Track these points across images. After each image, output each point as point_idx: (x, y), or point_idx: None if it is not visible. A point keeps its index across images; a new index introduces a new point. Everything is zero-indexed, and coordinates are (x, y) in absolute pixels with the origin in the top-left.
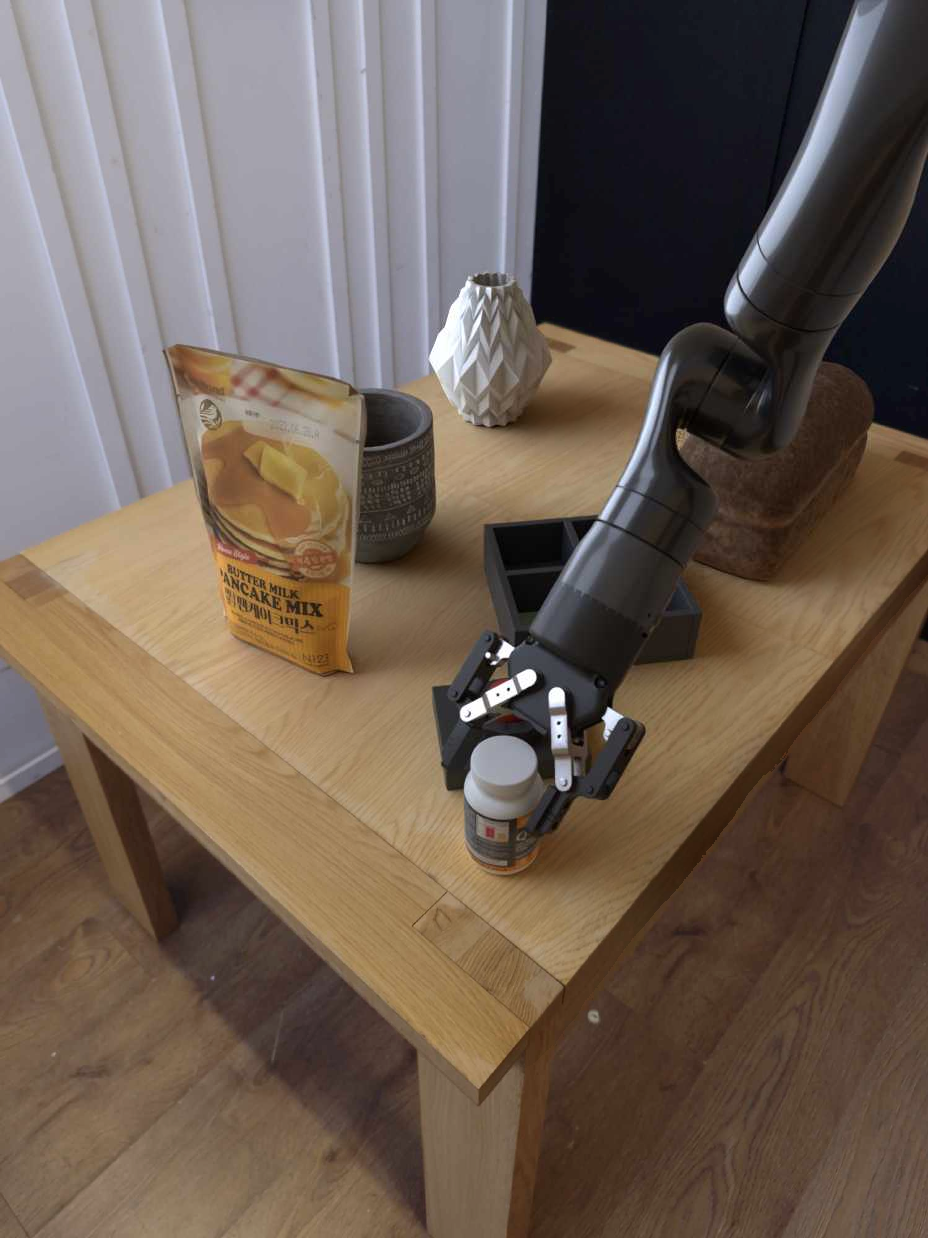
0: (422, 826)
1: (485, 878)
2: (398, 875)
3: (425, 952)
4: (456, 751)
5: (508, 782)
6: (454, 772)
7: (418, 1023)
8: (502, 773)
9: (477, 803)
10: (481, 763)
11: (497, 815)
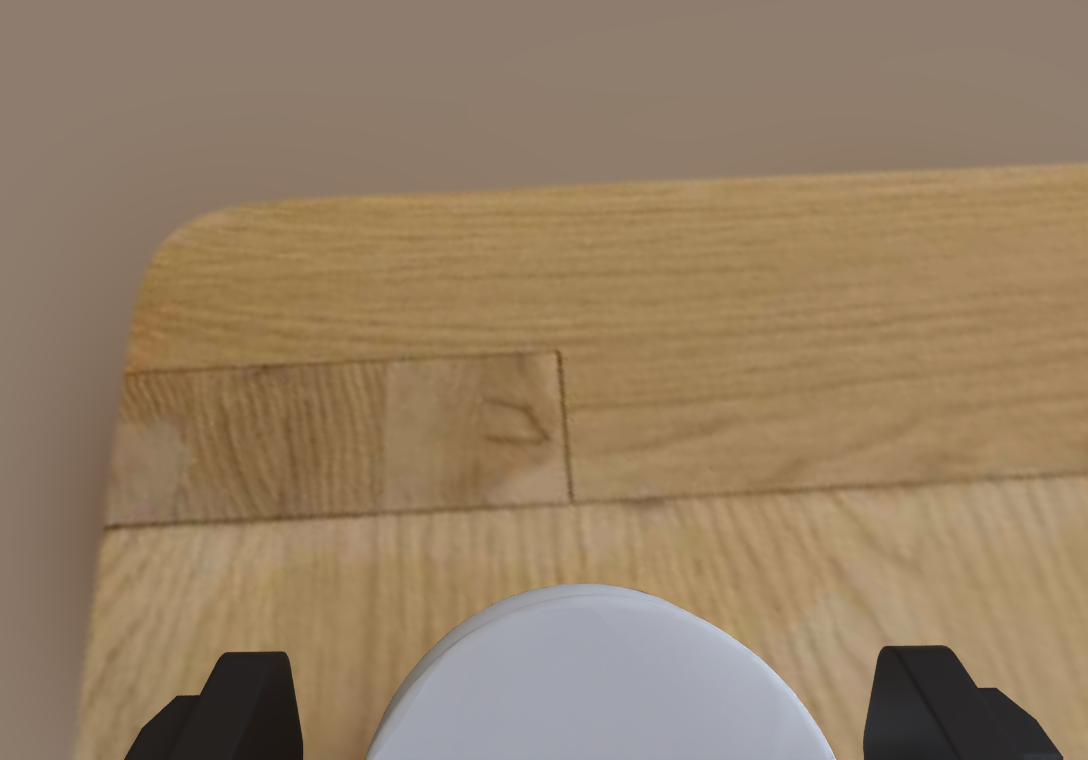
0: (835, 622)
1: None
2: (722, 431)
3: (469, 325)
4: (945, 732)
5: (425, 707)
6: (869, 709)
7: (347, 199)
8: (514, 740)
9: (583, 592)
10: (692, 695)
11: (460, 626)
